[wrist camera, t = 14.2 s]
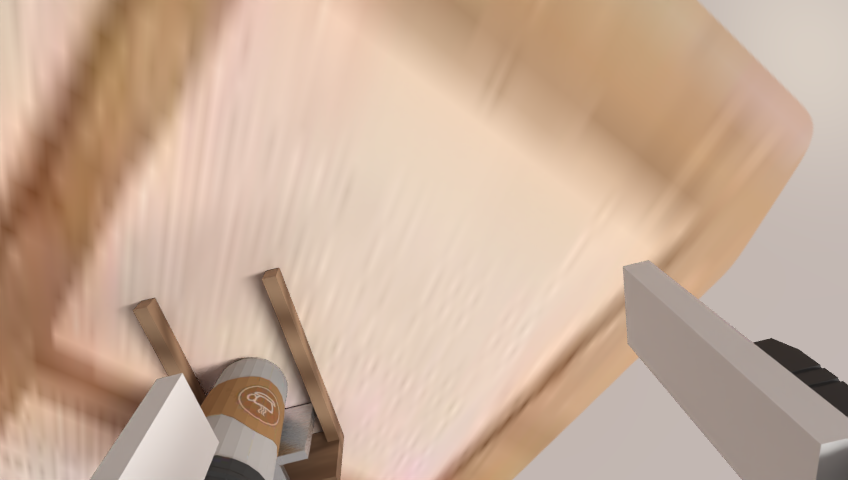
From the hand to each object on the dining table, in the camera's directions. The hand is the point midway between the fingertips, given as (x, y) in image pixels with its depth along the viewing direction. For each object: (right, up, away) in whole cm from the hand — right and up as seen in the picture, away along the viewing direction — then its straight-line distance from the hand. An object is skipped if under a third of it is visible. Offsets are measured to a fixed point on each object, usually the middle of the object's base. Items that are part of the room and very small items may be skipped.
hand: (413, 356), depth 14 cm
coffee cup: (-16, -10, +32) cm, 37 cm away
